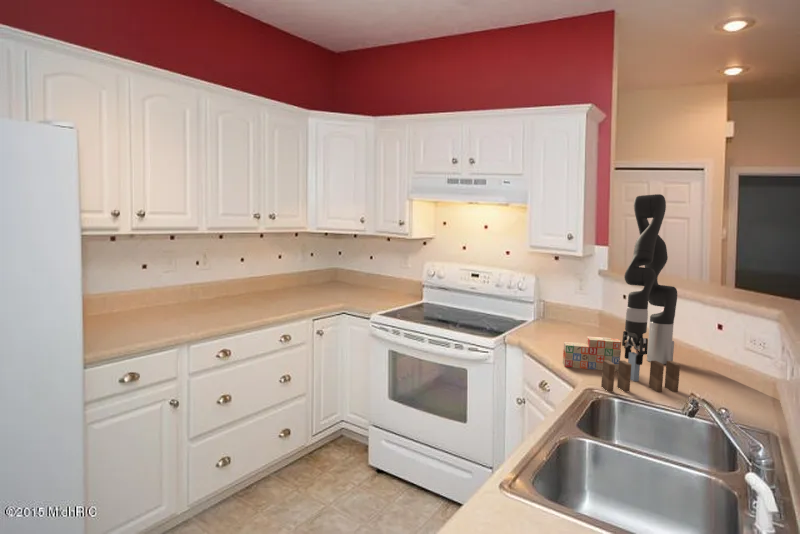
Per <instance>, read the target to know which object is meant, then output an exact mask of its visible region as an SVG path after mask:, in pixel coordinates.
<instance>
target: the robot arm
mask: <svg viewBox="0 0 800 534" xmlns="http://www.w3.org/2000/svg"><path fill="white" fill-rule="evenodd" d="M633 209H634V215H635V220H636V224H637V228H638V232H639V233H638V234H639V236H638V237H637V240H636V241H635V243H634V244H635V245H634V250H633V255H632V259H631V261H630V262H629V265H628V266H627V268H626V270H625V273H624V281H625V283H626V284H627V285H631V286H639V287H643V289H641V290H638V291H637V290H635V291H631V292H629V294H628V296H627V309H626V312H625V314H626V315H625V326H624V330H623V331H622V332H623V333H622V342H621V347H623V348H624V359H625V360H628V357H629V352H632V348H633V349H634V350H635V353H637V355H636V364H637V365H640V366H642V365H643V360H644V356H645V355H646V361H647V362H650V363H651V361H658V362H660V363H662V364H664V365H666V363H667V361H673V362H674V352H675V351H674V349H675V341H674V340H673V335H674V323H675V317H676V309H677V302H678V290H677V287H675V286H674V285H673V286H671V285H664V284H659V283H658V278H659V275H660V273H661V271H662V270H663V269H664V268H665V266H666V264H667V262H668V257H669V256H668V249H667V245H666V244H667V243H666V242H665V241H664V239H663V238H662V237H661V235H659V233H660V231H661V227H662V224H663V220H664V217H665V214H666V211H667V202H666V198H665V196H664V195H663V194H659V193H657V194H647V195H646V194H644V195H637V196H635V198H634V201H633ZM649 219H651V222H649ZM643 266H644V267H643ZM649 304H650V305H651V306H655V307H663V311H661V312H657V313H653V314H650V316H649V311H648V310H649V309H648V307H649ZM648 319H649V320H648ZM648 321H649V326H648ZM648 327H649V328H648ZM647 329H649V330H648V338H645V337H644V334H647Z"/></svg>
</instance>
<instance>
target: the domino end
mask: <svg viewBox="0 0 800 534" xmlns="http://www.w3.org/2000/svg"><path fill="white" fill-rule="evenodd" d="M615 372H616V371H615V364H614V363H612V362H610V361H609V360H603V369H602V370H601V385H600V387H603V388H604V389H605V390H604V389H603V388H602V389H603V390H604V391H606V390H607V391H613V392H614V386H615V385H614V382H615ZM607 391H606V392H607Z"/></svg>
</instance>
